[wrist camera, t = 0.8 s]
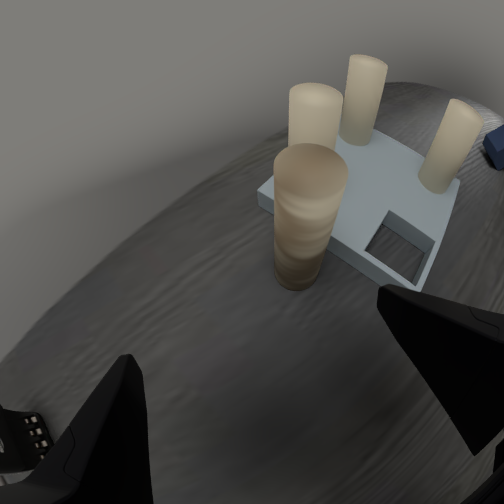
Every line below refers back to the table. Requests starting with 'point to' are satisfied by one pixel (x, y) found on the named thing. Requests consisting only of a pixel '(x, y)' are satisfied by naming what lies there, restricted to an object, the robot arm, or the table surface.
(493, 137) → the glue gun
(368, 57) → the stool seat
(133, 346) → the table surface
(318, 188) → the loose leg
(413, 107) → the table surface
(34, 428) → the battery charger
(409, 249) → the table surface
